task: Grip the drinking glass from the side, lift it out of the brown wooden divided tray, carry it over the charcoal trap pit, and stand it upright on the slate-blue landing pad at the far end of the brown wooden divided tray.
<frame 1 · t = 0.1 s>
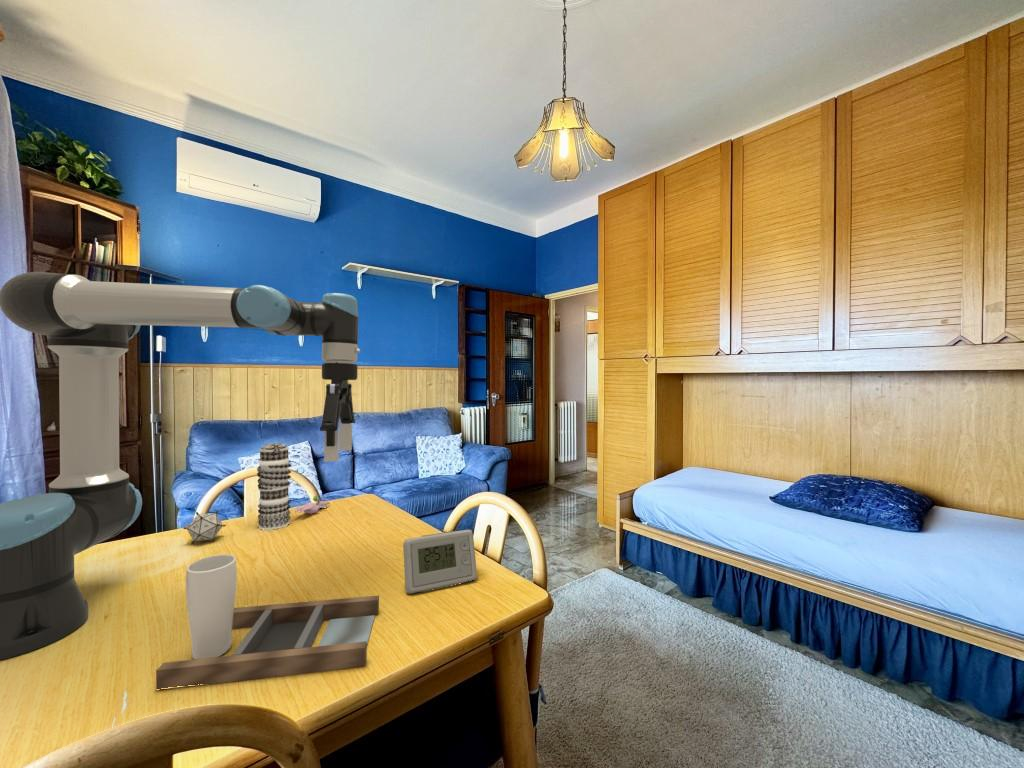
hand: (339, 455, 93), 28 cm above the table, tool pointing down, fingers open, 13 cm apart
game die: (205, 541, 112), on the table
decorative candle: (274, 525, 124), on the table
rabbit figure: (312, 513, 136), on the table
digital clock: (440, 584, 90), on the table
drinking glass: (212, 653, 67), on the table
trap pit: (287, 644, 69), on the table
brown wooden divided tray: (287, 644, 69), on the table
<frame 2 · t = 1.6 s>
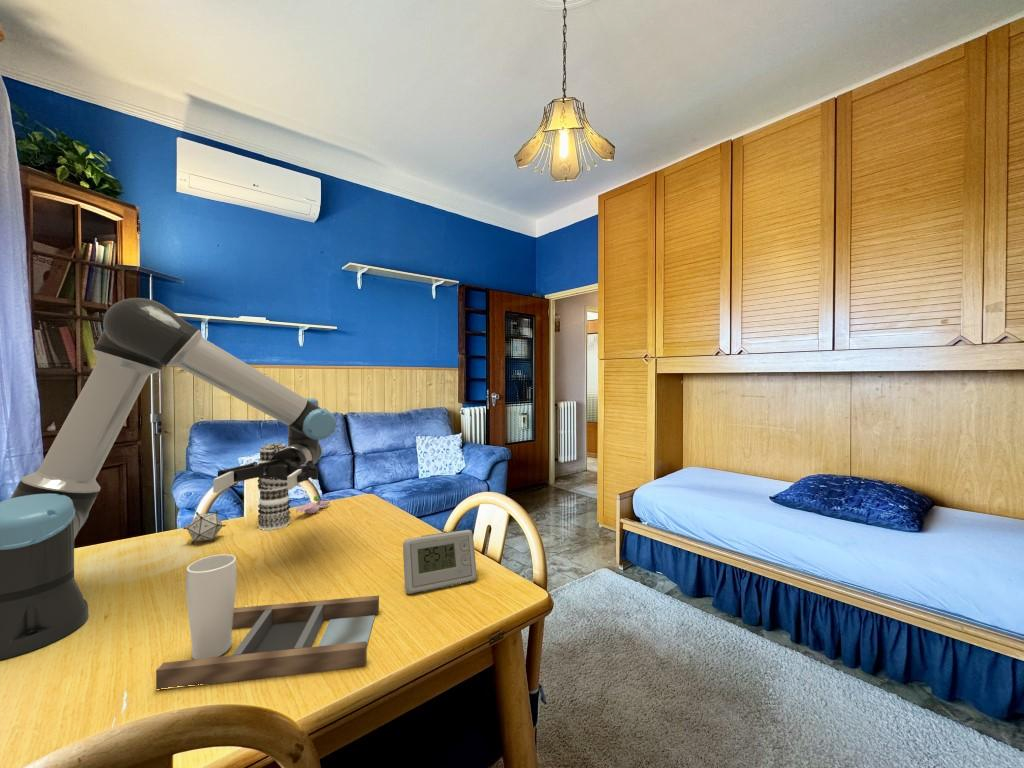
hand: (252, 484, 82), 24 cm above the table, tool horizontal, fingers open, 13 cm apart
nothing on the table moved.
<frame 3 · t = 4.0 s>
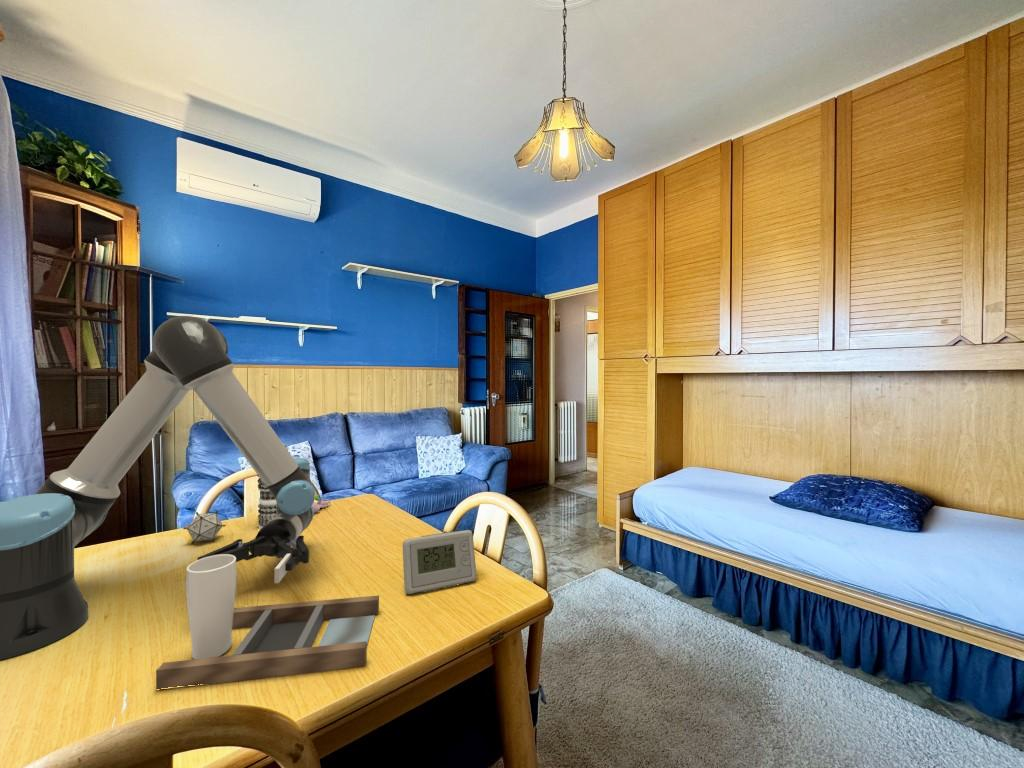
hand: (235, 579, 74), 9 cm above the table, tool horizontal, fingers open, 13 cm apart
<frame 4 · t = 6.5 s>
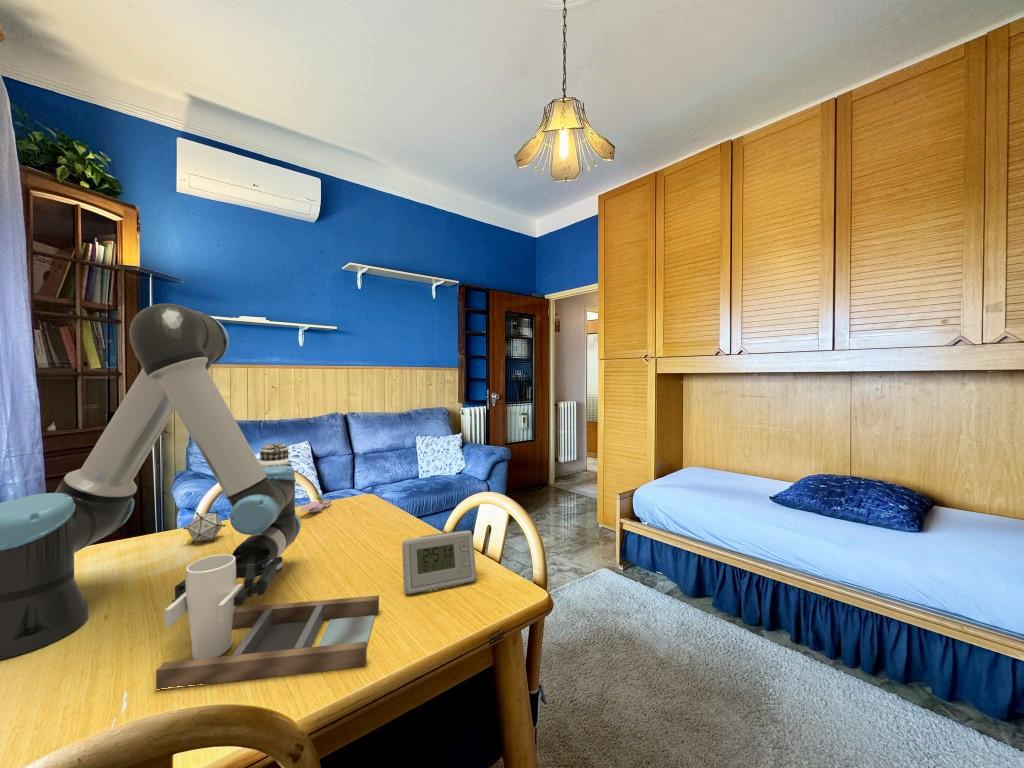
hand: (194, 616, 62), 9 cm above the table, tool horizontal, fingers closed on drinking glass, 6 cm apart
drinking glass: (212, 653, 67), on the table, touching gripper
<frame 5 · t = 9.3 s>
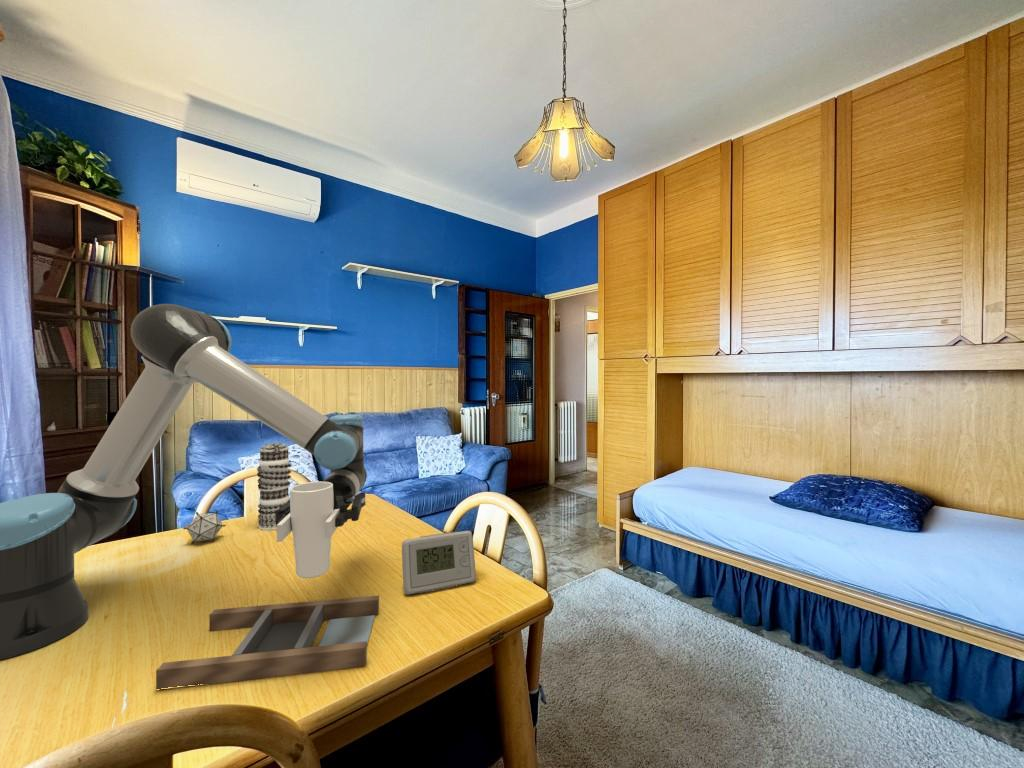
hand: (303, 531, 65), 21 cm above the table, tool horizontal, fingers closed on drinking glass, 6 cm apart
drinking glass: (313, 573, 70), point 12 cm above the table, touching gripper
when the fingers open (10 cm above the table, at t = 12.5 s): drinking glass drops 1 cm, resting on brown wooden divided tray.
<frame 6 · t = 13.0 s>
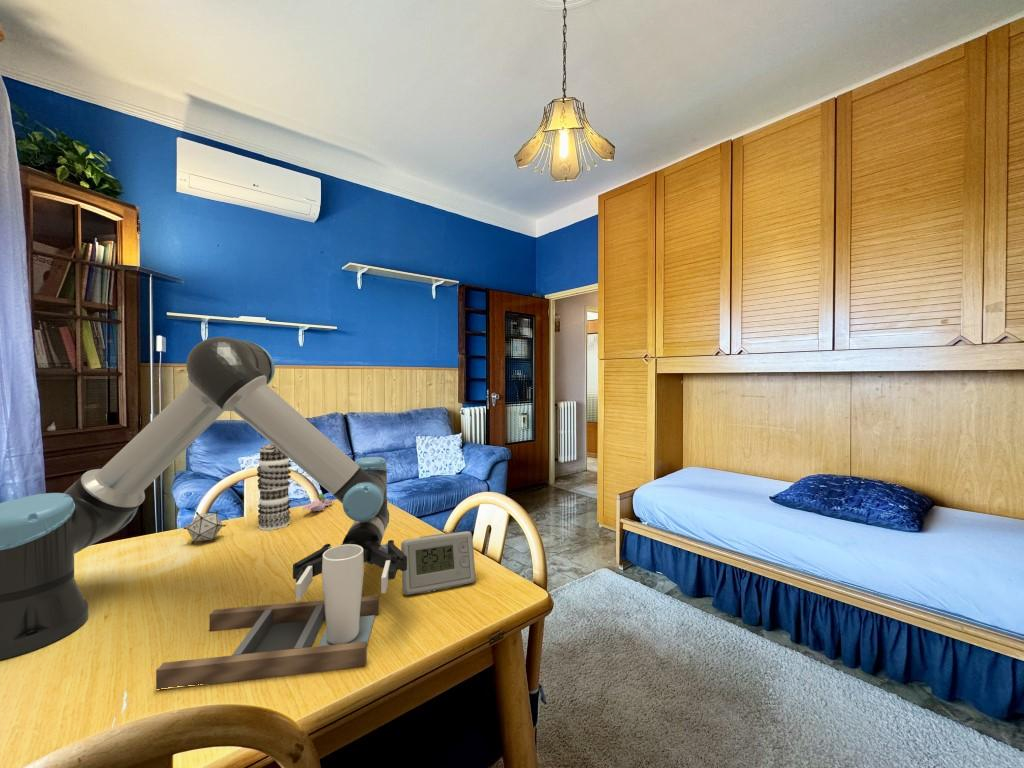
hand: (341, 588, 68), 10 cm above the table, tool horizontal, fingers open, 13 cm apart
drinking glass: (343, 637, 71), resting on brown wooden divided tray
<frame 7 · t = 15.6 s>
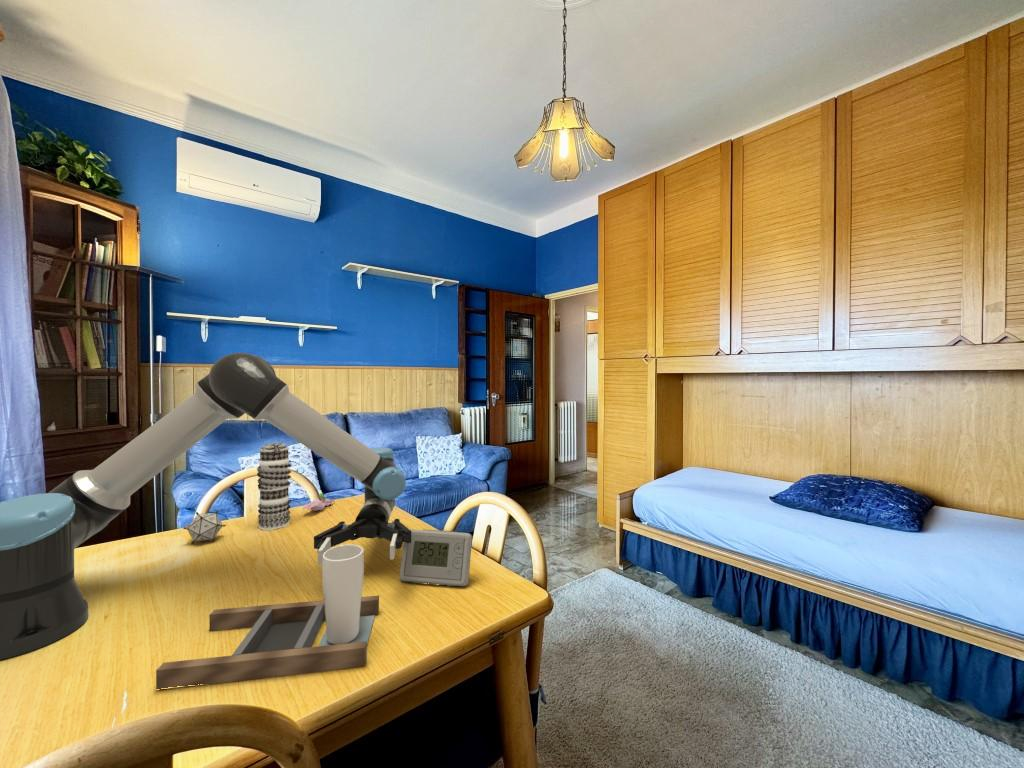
hand: (356, 555, 80), 11 cm above the table, tool horizontal, fingers open, 13 cm apart
digital clock: (435, 581, 92), on the table, touching hand
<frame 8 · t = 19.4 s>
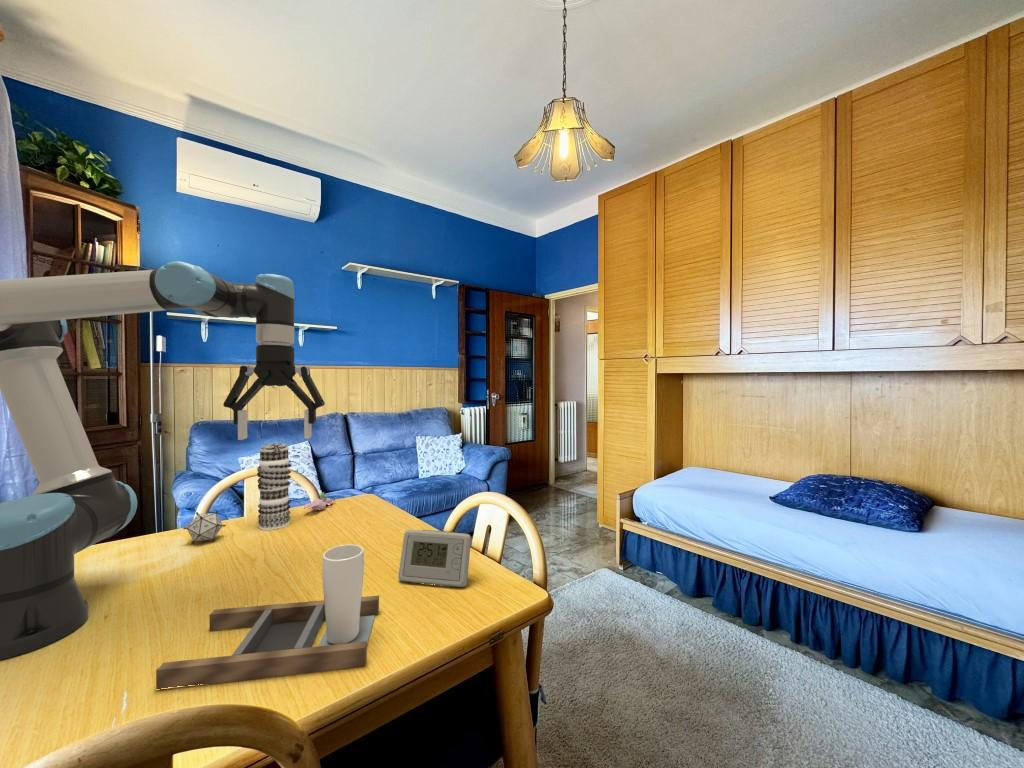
hand: (275, 438, 92), 32 cm above the table, tool pointing down, fingers open, 13 cm apart
digital clock: (434, 581, 91), on the table
at the end: drinking glass 0.5 cm from the target spot, resting on brown wooden divided tray; drinking glass tilted 0°; drinking glass touching brown wooden divided tray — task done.
